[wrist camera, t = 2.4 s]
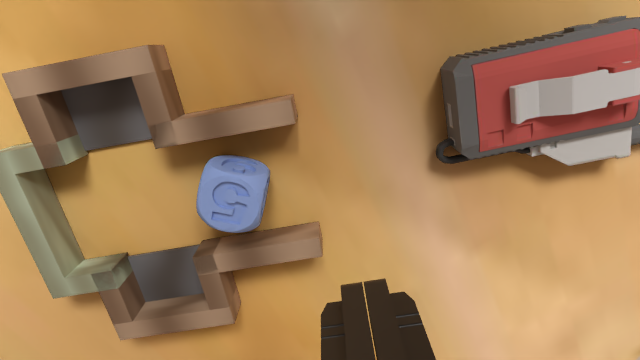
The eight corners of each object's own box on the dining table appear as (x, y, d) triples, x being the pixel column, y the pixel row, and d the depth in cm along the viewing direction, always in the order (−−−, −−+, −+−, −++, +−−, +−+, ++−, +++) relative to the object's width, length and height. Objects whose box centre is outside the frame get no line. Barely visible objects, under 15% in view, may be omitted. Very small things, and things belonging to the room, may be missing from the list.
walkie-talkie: (435, 182, 28) (724, 123, 26) (455, 207, 24) (800, 138, 22) (419, 59, 25) (743, -15, 24) (439, 63, 21) (833, -27, 19)
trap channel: (278, 22, 24) (274, 19, 22) (332, 288, 31) (333, 309, 28) (-19, 80, 25) (-53, 84, 23) (95, 324, 32) (77, 346, 29)
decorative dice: (210, 202, 28) (193, 226, 24) (216, 150, 27) (199, 168, 23) (264, 212, 28) (255, 238, 25) (272, 161, 27) (265, 180, 23)
